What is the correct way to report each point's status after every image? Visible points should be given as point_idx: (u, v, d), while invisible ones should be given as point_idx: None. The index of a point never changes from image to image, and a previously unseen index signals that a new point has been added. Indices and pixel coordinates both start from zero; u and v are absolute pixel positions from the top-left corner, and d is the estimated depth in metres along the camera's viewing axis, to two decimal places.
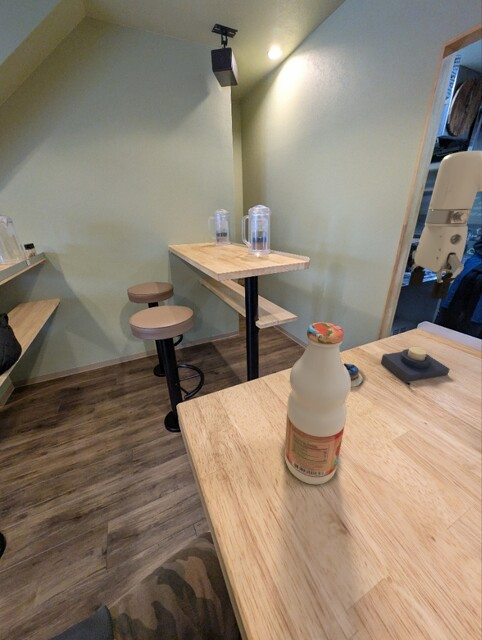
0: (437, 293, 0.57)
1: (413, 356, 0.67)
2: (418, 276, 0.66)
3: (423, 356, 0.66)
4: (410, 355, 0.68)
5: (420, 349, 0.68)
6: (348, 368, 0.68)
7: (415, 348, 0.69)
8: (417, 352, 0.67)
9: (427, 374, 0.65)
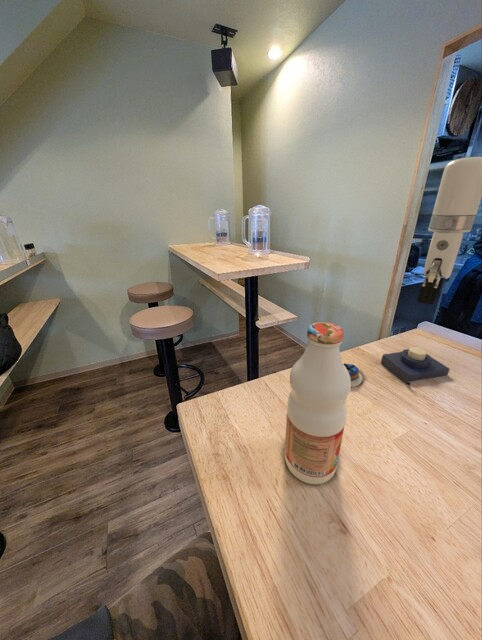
0: (422, 297, 0.59)
1: (413, 356, 0.67)
2: None
3: (423, 356, 0.66)
4: (410, 355, 0.68)
5: (420, 349, 0.68)
6: (348, 368, 0.68)
7: (415, 348, 0.69)
8: (417, 352, 0.67)
9: (427, 374, 0.65)
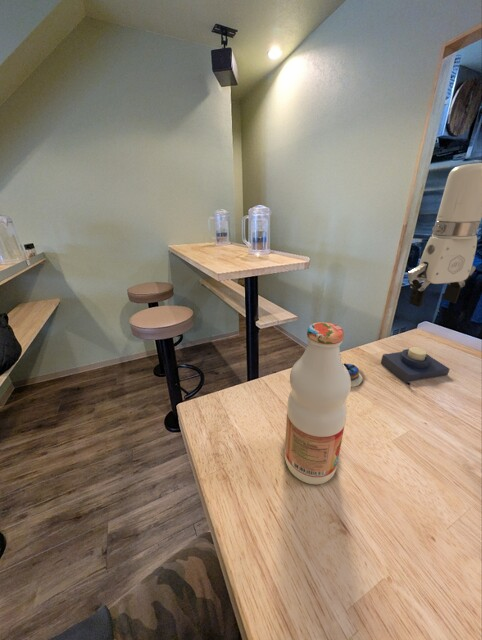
0: None
1: (413, 356, 0.67)
2: (451, 291, 0.61)
3: (423, 356, 0.66)
4: (410, 355, 0.68)
5: (420, 349, 0.68)
6: (348, 368, 0.68)
7: (415, 348, 0.69)
8: (417, 352, 0.67)
9: (427, 374, 0.65)
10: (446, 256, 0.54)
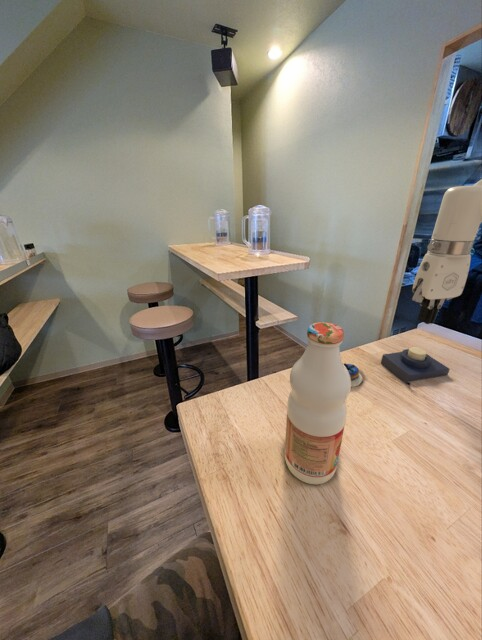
0: None
1: (413, 356, 0.67)
2: None
3: (423, 356, 0.66)
4: (410, 355, 0.68)
5: (420, 349, 0.68)
6: (348, 368, 0.68)
7: (415, 348, 0.69)
8: (417, 352, 0.67)
9: (427, 374, 0.65)
10: (440, 273, 0.56)
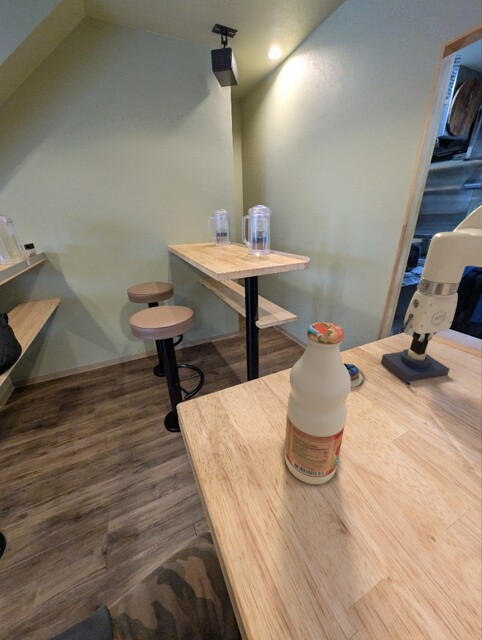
0: None
1: (412, 358, 0.67)
2: None
3: (423, 357, 0.66)
4: (410, 356, 0.68)
5: None
6: (348, 368, 0.68)
7: None
8: (417, 354, 0.67)
9: (427, 374, 0.65)
10: (429, 311, 0.59)
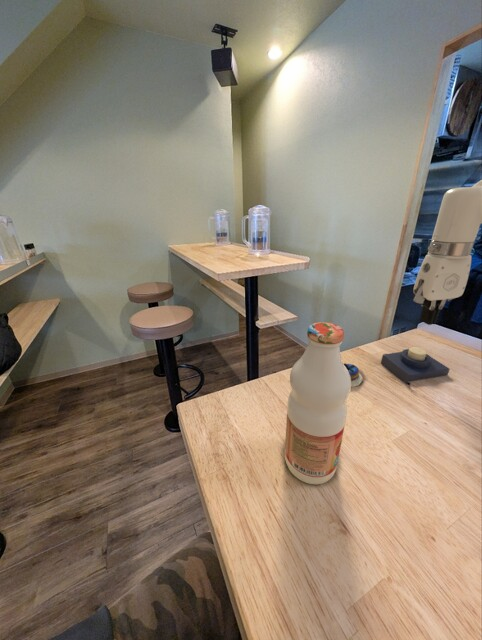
0: None
1: (413, 356, 0.67)
2: None
3: (423, 356, 0.66)
4: (410, 355, 0.68)
5: (420, 349, 0.68)
6: (348, 368, 0.68)
7: (415, 348, 0.69)
8: (417, 352, 0.67)
9: (427, 374, 0.65)
10: (441, 274, 0.56)
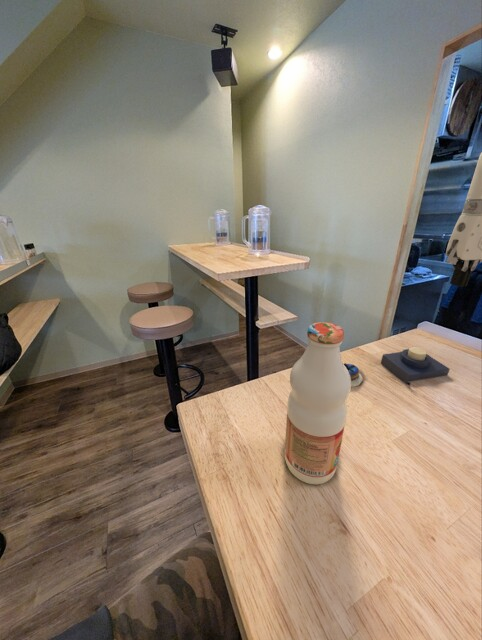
0: None
1: (413, 356, 0.67)
2: None
3: (423, 356, 0.66)
4: (410, 355, 0.68)
5: (420, 349, 0.68)
6: (348, 368, 0.68)
7: (415, 348, 0.69)
8: (417, 352, 0.67)
9: (427, 374, 0.65)
10: (477, 233, 0.57)
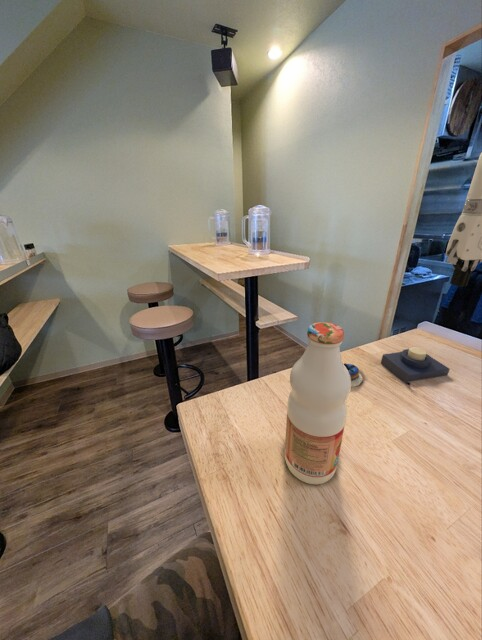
0: None
1: (413, 356, 0.67)
2: None
3: (423, 356, 0.66)
4: (410, 355, 0.68)
5: (420, 349, 0.68)
6: (348, 368, 0.68)
7: (415, 348, 0.69)
8: (417, 352, 0.67)
9: (427, 374, 0.65)
10: (477, 233, 0.57)
